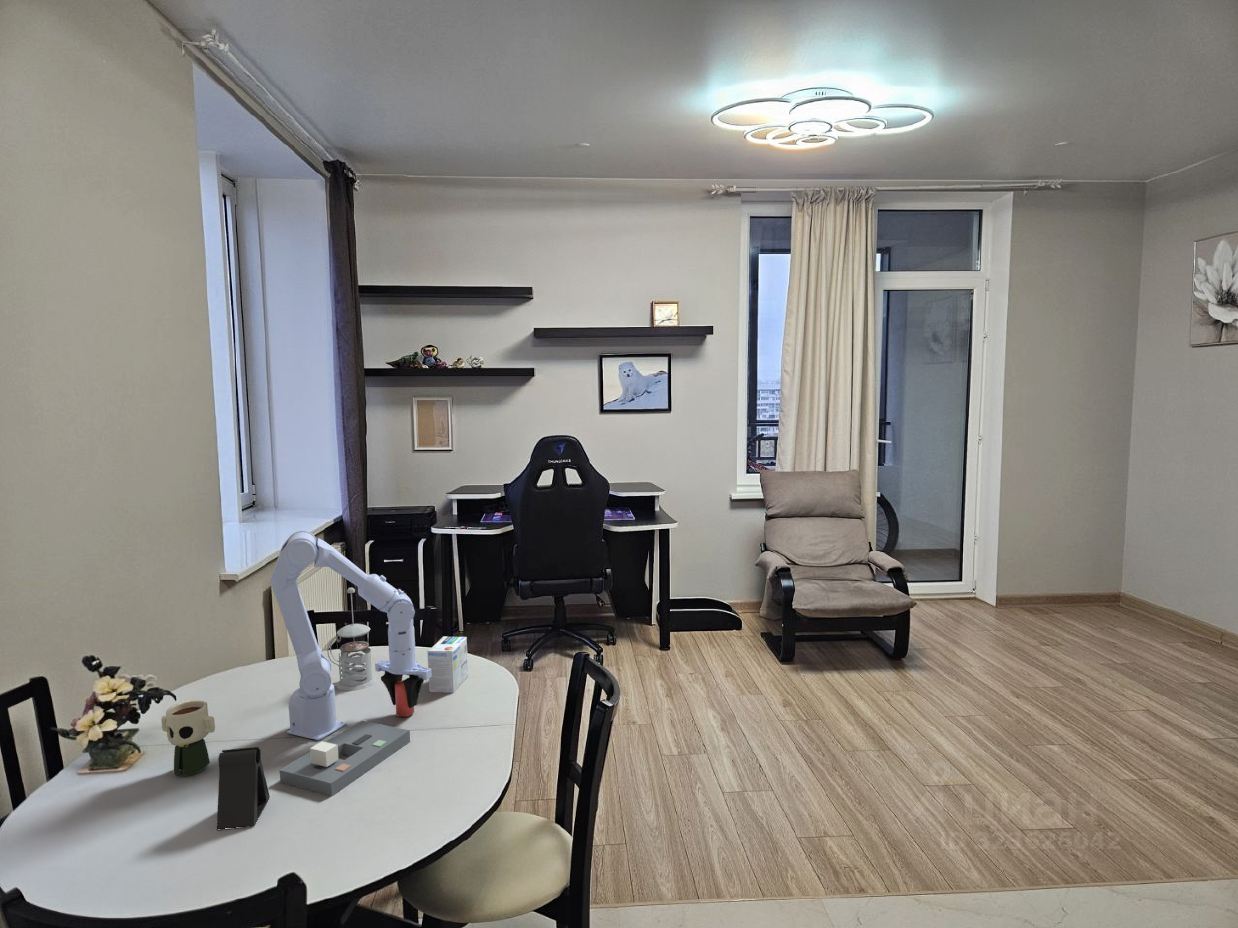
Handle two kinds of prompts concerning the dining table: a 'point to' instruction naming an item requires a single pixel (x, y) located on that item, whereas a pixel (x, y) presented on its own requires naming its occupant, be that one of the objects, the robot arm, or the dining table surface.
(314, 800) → the dining table surface
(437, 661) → the light bulb box
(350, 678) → the french press
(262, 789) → the phone stand
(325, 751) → the lever
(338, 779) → the breaker panel
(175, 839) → the dining table surface
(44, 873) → the dining table surface
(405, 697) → the pin
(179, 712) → the character mug
